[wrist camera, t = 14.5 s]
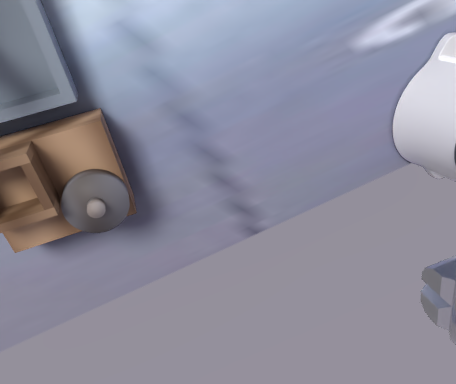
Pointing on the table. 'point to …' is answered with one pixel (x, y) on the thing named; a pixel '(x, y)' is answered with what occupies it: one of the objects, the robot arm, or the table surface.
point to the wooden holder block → (61, 181)
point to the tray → (30, 62)
